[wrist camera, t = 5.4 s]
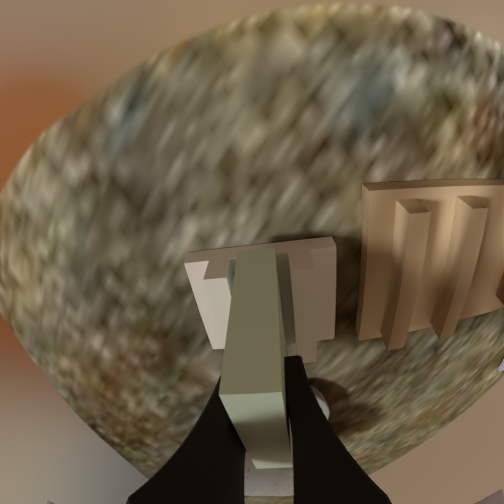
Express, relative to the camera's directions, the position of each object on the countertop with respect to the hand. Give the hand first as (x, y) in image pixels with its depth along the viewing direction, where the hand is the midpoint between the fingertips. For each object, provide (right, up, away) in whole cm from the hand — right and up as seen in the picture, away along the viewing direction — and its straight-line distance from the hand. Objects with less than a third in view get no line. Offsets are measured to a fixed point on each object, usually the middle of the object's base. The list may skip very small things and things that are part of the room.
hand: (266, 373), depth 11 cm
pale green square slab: (0, +2, +3) cm, 4 cm away
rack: (+12, +5, +3) cm, 14 cm away
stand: (0, +3, +5) cm, 5 cm away
